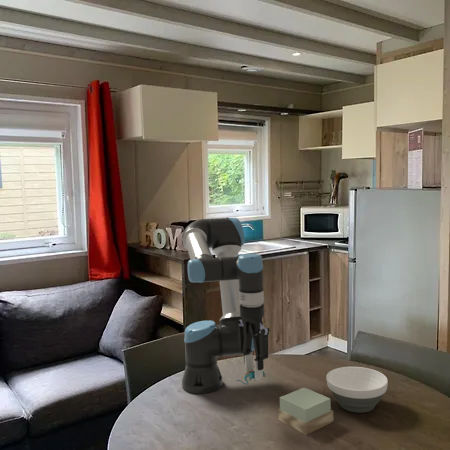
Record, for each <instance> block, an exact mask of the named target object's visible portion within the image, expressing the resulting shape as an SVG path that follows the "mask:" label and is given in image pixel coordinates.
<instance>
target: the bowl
mask: <svg viewBox="0 0 450 450" xmlns="http://www.w3.org/2000/svg"><path fill="white" fill-rule="evenodd" d="M325 378H326V384H327V388H328V389H329V390H330V393H331V394H332V396H333V397H334V399H335V400H336V401H337V402H338V404H339V405H340V407H341V408H342V409H343V410H345V411H348V412H351V413H358V414H365V413H368V412H369V413H370V412H372V411H373V410H374V409H375V407H376V405H378V403H379V402H380V401H381V399H382V397H383V396H384V395H385V394H386V392H387V389H388V385H389V384H388V383H389V382H388V381H389V380H388V378H387V376H386V375H385V374H383V373H382V372H380V371H378V370H375V369H372V368H368V367H362V366H342V367H337V368H334V369H331V370H330V371H328V372H327V374H326V376H325Z"/></svg>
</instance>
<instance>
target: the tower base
mask: <svg viewBox="0 0 450 450" xmlns="http://www.w3.org/2000/svg"><path fill="white" fill-rule="evenodd" d="M277 416H278V417H277V418H278V421H279V422H282V423H284V424H285V425H286V426H289V427H290V428H293V429H294V430H296V431H299V432H300V433H301V434H304V435H305V436H307V435H309V434H311V433H313V432H316V431H317V430H319V429H321V428H323V427H325V426H328V425H329V424H332V423H334V410H331V411H330V412H328V413H326V414H323V415H321V416H319V417H317V418H315V419H313V420H311V421H309V422H306V423H305V422H303V421H301V420H299V419H297V418H295V417H293V416H291V415H289V414H287V413H285V412H284V411H282V410H280V408H278V409H277Z"/></svg>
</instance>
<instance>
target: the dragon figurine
mask: <svg viewBox="0 0 450 450" xmlns="http://www.w3.org/2000/svg"><path fill="white" fill-rule="evenodd" d="M253 369H255V367H254V366H253ZM265 377H266V373H265V371H264V370H263V378H265ZM247 378H249V382H250V381H251V380H252V379H253V380H254V382H255V381H256V380H255V370H253V371H250V372H248V373H246V374H245V373H244V381H246V382H243V381H242V380H241V379H237V380H236V381H235V382H241V383H243V384H244V385H248V384H249V382H248V379H247Z"/></svg>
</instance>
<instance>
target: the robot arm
mask: <svg viewBox="0 0 450 450" xmlns="http://www.w3.org/2000/svg"><path fill="white" fill-rule="evenodd" d="M243 227H244V226H243V225H242V223H241V220H240V219H239V218H237V217H227V216H226V217H217V218H215V217H214V218H201V219H197V220H195V221H194V220H193V222H191V223H190V224H188V225H187V226H186V227H185V228H184V230H183V232H182V236H181V242H182V246H183V247H184V248H185V250H186V251H187V253H188V256H189V260H188V261H187V276H188V278H187V279H188V281H189V282H190V283H198V284H199V283H200V284H201V283H208V282H209V283H210V282H211V283H212V282H219V289H220V298H221V308H222V316H221V317H220V319H219V324H216V322H215V321H214V320H209V319H208V320H207V319H206V320H201V321H195V322H192V323H191V324H189V325H188V326H187V327H185V330H184V338H183V341H184V349H185V353H184V354H185V368H184V372H183V375H182V379H181V386H182V389H183V390H184V391H186V392H188V393H191V394H192V393H193V394H207V393H213V392H215V391H218V390H220V389H221V388H222V387H223V384H224V382H223V380H224V379H223V376H222V374H221V370H220V367H219V365H218V358H219V357H229V356H243V363H244V375H245V374H246V373H248V372H250V371H255V379H254V381H255V380H256V381H257V382H258V381H259V380H263V378H264V377H263V371H264V368H265V367H264V363H265V362H264V360H267V359H268V358H269V335H270V328H269V327H265V326H264V323H263V322H264V321H263V318H264V317H265V306H264V302H265V297H264V296H265V295H264V293H265V292H264V263H263V257H262V255H261V254H258V253H243V254H242V253H240V252H241V250H242V247H243V246H244V244H245V232H244V228H243ZM210 248H211V250H210ZM211 251H212V252H211ZM212 253H213V254H212ZM239 253H240V254H239ZM213 255H215V256H216V257H213ZM253 352H254V353H255V358H254V357H253ZM254 367H255V368H254Z"/></svg>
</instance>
